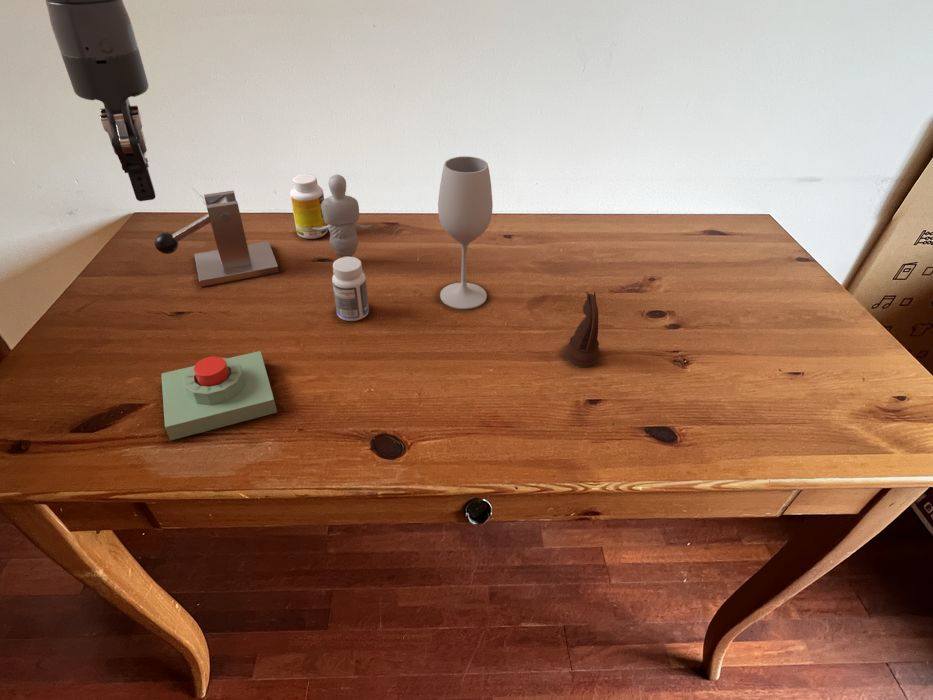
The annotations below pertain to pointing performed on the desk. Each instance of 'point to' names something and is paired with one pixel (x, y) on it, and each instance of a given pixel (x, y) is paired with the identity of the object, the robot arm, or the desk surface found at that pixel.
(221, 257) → the lever stand
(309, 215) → the supplement bottle
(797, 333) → the desk surface
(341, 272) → the pill bottle
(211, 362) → the red button
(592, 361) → the chess piece
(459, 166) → the wineglass
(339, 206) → the figurine
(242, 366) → the button block
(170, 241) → the lever handle
